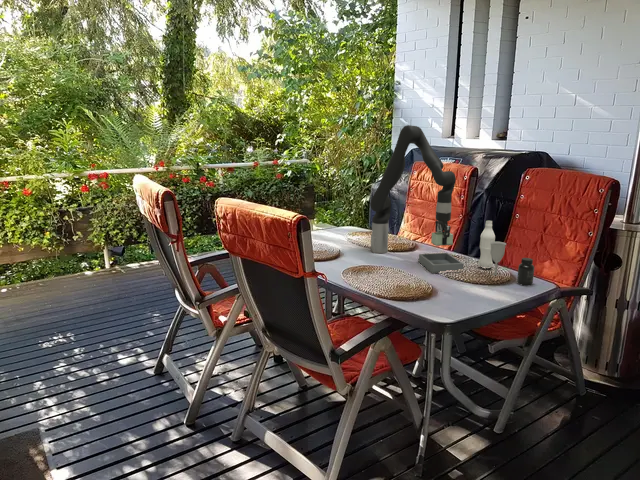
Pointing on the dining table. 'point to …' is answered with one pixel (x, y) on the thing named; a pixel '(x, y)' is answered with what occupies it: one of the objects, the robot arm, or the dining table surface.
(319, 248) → the dining table surface
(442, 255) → the grey tray
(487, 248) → the water bottle
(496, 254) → the chalice
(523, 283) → the supplement bottle
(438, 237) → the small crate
